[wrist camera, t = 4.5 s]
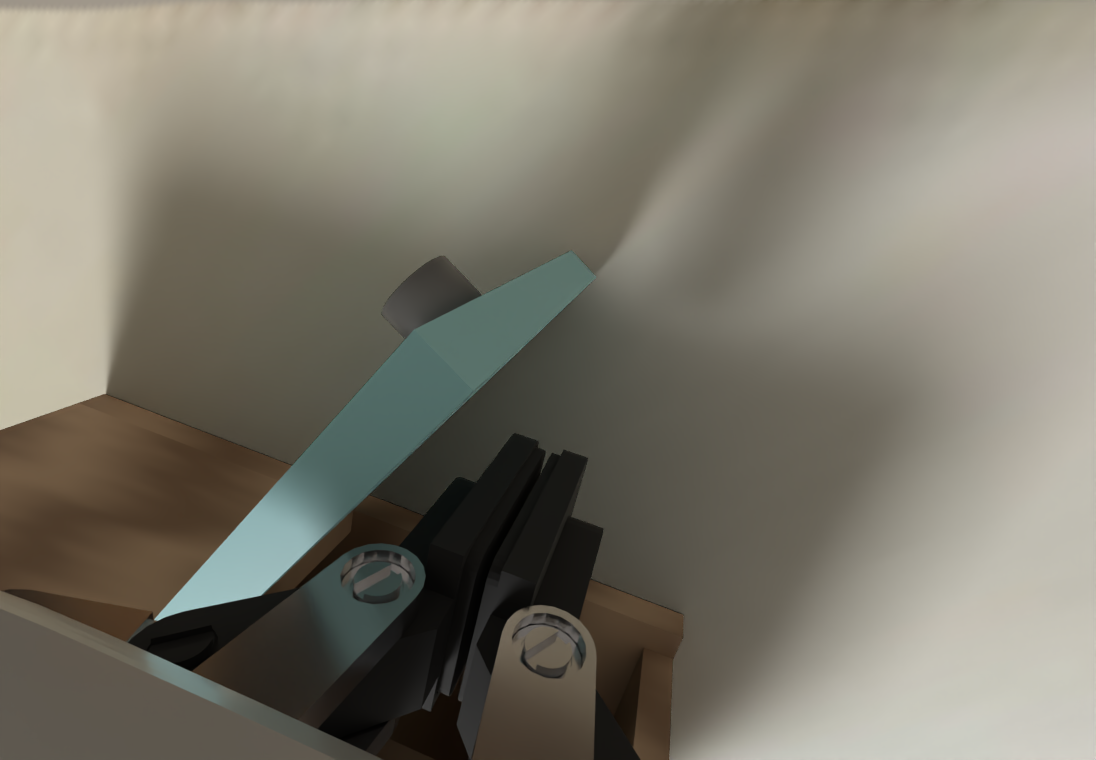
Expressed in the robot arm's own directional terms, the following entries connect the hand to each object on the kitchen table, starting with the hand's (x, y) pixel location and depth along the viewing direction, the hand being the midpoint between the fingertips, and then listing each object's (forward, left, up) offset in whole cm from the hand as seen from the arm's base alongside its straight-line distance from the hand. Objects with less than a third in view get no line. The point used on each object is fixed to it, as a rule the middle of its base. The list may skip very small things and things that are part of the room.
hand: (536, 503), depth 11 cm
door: (+5, 0, -5) cm, 7 cm away
